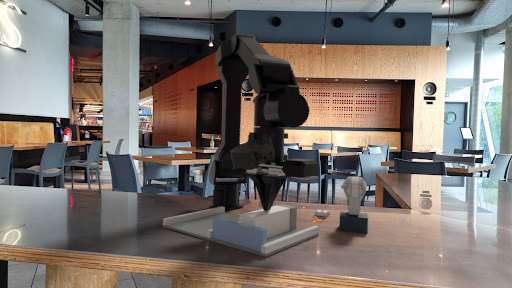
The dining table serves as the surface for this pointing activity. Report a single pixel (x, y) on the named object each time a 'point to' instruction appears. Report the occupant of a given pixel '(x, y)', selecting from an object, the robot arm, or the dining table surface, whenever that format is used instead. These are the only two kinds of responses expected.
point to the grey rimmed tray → (236, 231)
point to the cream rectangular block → (272, 219)
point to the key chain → (320, 215)
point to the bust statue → (354, 206)
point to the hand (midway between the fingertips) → (266, 210)
